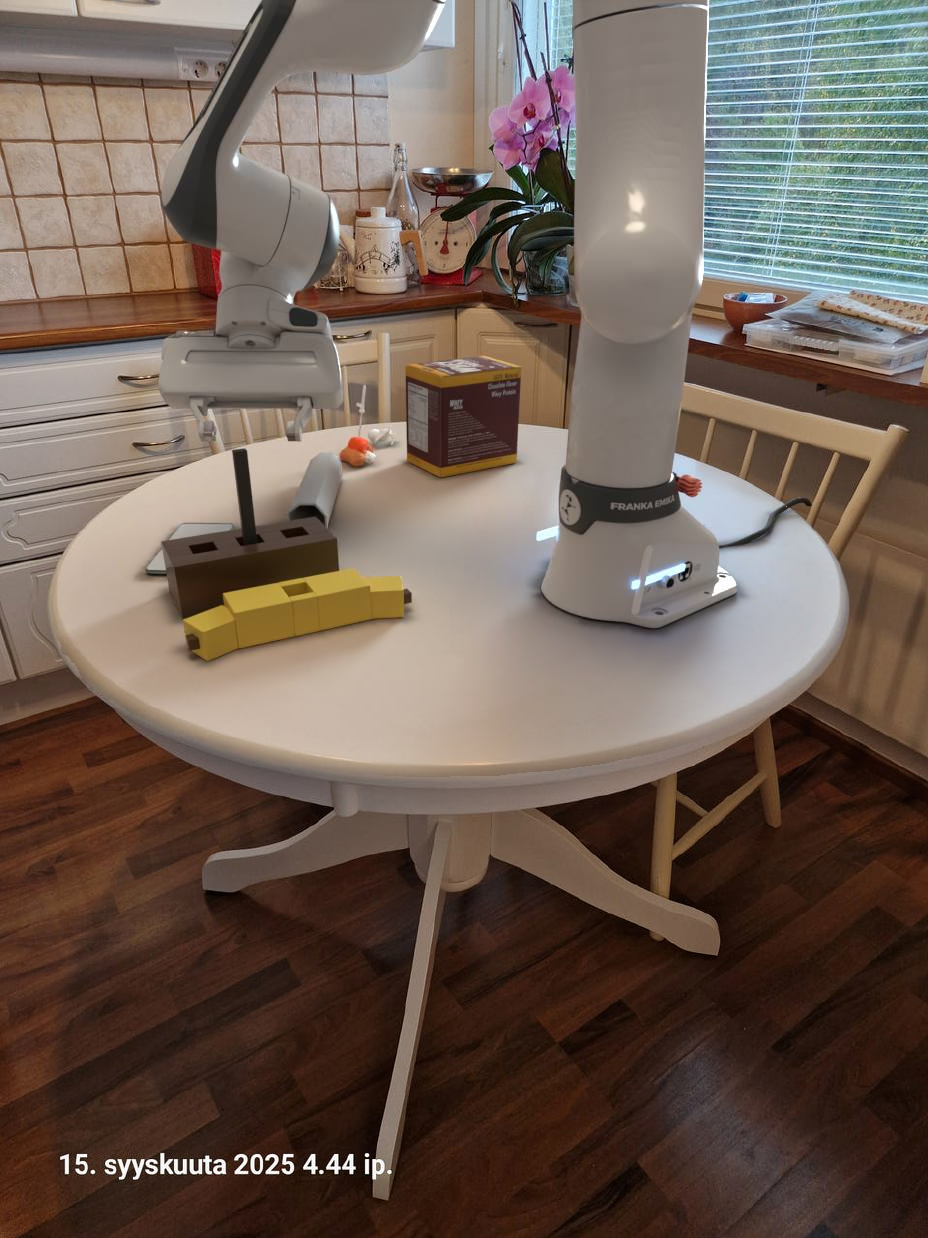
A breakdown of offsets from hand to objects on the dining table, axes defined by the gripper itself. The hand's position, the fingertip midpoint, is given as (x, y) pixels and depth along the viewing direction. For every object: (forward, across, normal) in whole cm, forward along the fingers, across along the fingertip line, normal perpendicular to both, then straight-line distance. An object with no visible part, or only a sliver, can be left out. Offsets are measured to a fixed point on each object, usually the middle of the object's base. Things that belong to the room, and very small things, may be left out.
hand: (250, 439), depth 90 cm
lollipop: (-18, +9, +40) cm, 45 cm away
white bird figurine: (-25, +13, +47) cm, 55 cm away
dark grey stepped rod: (+15, 0, +6) cm, 17 cm away
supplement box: (-18, +26, +40) cm, 51 cm away
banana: (+21, +6, 0) cm, 22 cm away
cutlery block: (+15, 0, +6) cm, 17 cm away
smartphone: (+8, -9, +14) cm, 19 cm away
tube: (-3, +5, +25) cm, 26 cm away
